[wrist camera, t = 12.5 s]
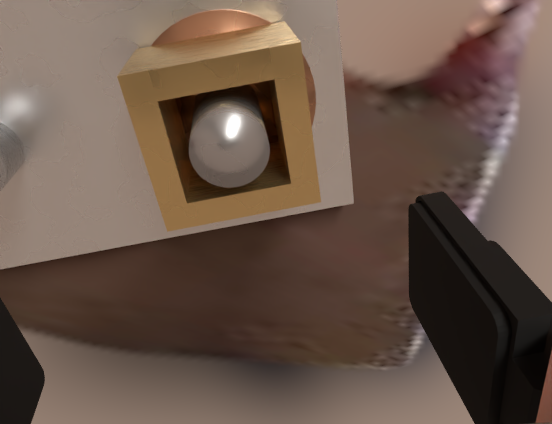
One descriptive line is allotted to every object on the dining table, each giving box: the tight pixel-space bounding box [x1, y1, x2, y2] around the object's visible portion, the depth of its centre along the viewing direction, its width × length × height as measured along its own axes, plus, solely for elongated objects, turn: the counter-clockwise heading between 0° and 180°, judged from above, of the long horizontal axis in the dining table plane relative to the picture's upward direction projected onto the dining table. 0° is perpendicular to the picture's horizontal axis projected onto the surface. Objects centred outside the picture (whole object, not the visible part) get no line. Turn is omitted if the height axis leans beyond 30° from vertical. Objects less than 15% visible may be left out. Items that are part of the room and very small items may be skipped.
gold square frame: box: [117, 21, 321, 232], centre depth 22 cm, size 7×7×5 cm
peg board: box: [0, 0, 354, 269], centre depth 22 cm, size 14×24×8 cm, turn 99°
